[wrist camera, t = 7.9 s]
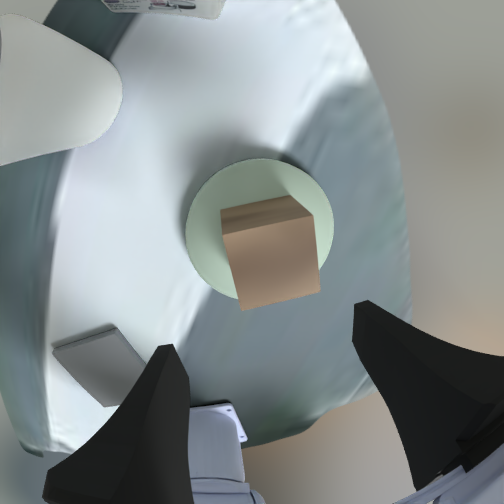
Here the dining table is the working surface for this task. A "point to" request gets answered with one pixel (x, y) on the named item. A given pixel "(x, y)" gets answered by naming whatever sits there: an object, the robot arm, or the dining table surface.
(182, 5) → the container
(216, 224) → the sage dish
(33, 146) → the can
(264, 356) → the dining table surface
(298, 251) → the walnut block
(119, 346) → the slate coaster
